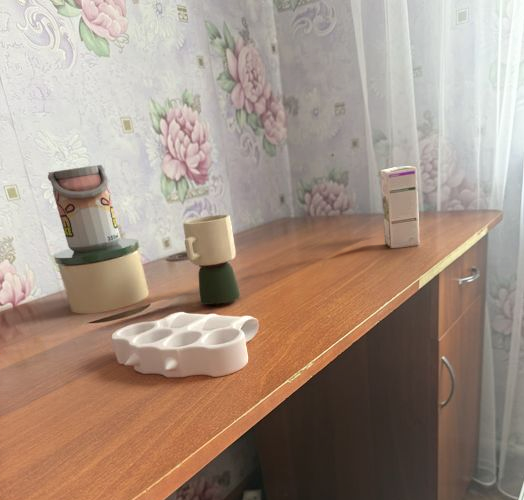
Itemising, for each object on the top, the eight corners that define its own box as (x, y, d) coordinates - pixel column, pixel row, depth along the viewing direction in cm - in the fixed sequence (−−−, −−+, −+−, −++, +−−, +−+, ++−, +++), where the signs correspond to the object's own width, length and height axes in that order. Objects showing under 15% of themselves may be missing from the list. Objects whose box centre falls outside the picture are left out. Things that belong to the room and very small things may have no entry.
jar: (63, 314, 85) (45, 253, 82) (135, 293, 92) (121, 236, 88) (85, 330, 75) (65, 261, 71) (165, 305, 81) (150, 241, 78)
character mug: (223, 291, 85) (209, 213, 80) (258, 292, 81) (246, 211, 76) (181, 312, 76) (163, 227, 72) (218, 315, 73) (202, 225, 68)
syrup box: (420, 245, 96) (419, 165, 91) (389, 249, 97) (386, 170, 91) (412, 239, 102) (410, 164, 96) (383, 243, 102) (379, 169, 96)
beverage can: (128, 245, 77) (109, 163, 73) (72, 256, 74) (48, 172, 70) (117, 239, 85) (99, 165, 81) (66, 249, 82) (44, 173, 78)
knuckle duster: (282, 337, 61) (213, 392, 50) (170, 328, 70) (90, 373, 59) (279, 311, 60) (207, 361, 48) (165, 305, 69) (83, 346, 57)
